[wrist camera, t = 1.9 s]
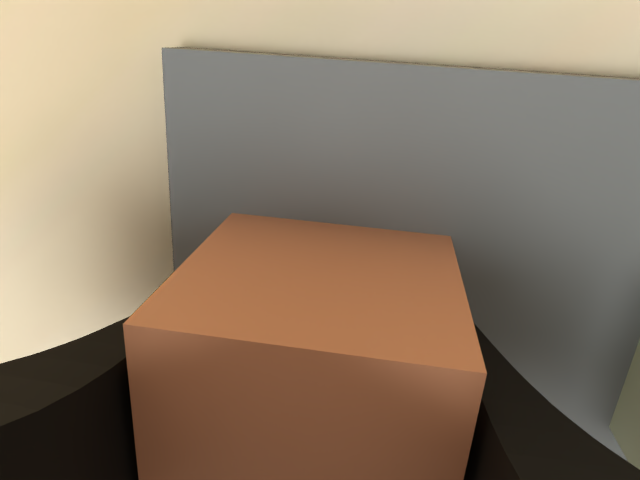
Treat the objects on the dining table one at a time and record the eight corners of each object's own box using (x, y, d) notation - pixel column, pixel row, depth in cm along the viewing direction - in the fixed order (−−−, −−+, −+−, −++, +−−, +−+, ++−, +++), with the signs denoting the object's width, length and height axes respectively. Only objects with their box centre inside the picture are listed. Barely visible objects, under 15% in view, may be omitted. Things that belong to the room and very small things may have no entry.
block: (420, 415, 13) (432, 621, 8) (233, 388, 14) (147, 566, 9) (450, 236, 11) (486, 373, 6) (231, 212, 12) (122, 323, 7)
